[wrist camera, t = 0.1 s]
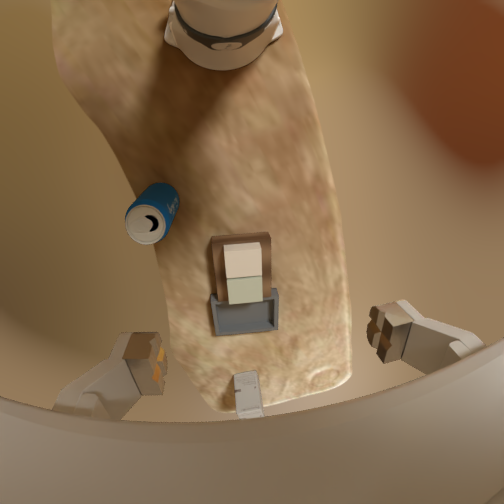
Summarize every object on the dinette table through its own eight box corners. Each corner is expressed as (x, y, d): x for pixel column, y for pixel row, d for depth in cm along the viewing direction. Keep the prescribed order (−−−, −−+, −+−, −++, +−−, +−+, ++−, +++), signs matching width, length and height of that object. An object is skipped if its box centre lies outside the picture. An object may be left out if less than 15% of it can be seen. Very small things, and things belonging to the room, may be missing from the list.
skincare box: (255, 369, 67) (262, 408, 56) (259, 379, 69) (265, 416, 58) (232, 374, 67) (235, 413, 56) (236, 384, 69) (240, 421, 58)
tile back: (226, 273, 50) (226, 280, 48) (260, 270, 50) (262, 277, 48) (228, 296, 52) (229, 304, 50) (260, 293, 53) (262, 301, 50)
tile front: (223, 245, 47) (224, 251, 45) (259, 242, 48) (261, 248, 46) (226, 270, 50) (226, 278, 48) (260, 267, 50) (262, 275, 48)
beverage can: (184, 212, 47) (174, 241, 37) (149, 221, 47) (131, 252, 37) (174, 177, 44) (160, 196, 34) (138, 187, 44) (115, 209, 34)
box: (210, 294, 55) (210, 301, 53) (276, 288, 56) (278, 295, 54) (215, 327, 59) (216, 335, 57) (275, 322, 60) (277, 329, 58)
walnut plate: (211, 236, 50) (211, 243, 47) (268, 231, 51) (270, 238, 48) (218, 292, 55) (218, 301, 52) (268, 287, 56) (271, 296, 53)
